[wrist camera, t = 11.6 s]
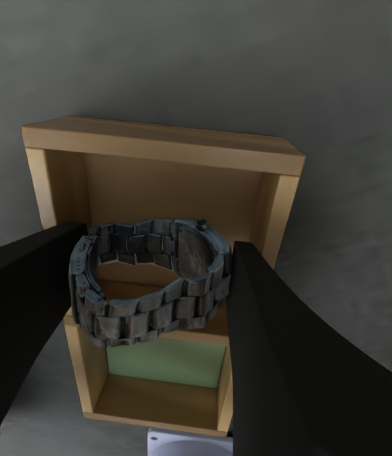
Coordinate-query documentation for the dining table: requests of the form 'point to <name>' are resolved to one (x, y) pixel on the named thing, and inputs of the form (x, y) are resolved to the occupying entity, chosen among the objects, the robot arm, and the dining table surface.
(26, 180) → the dining table surface
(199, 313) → the wristwatch
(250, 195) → the divided wooden tray
